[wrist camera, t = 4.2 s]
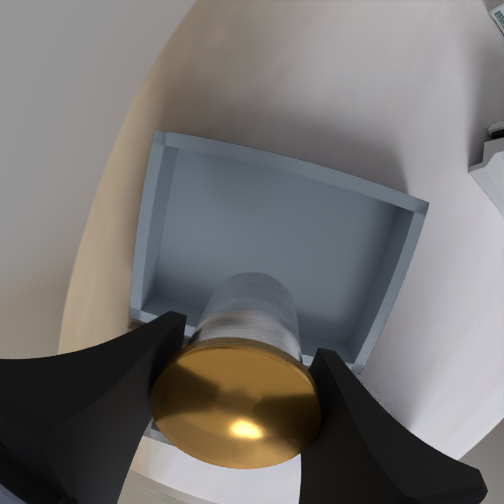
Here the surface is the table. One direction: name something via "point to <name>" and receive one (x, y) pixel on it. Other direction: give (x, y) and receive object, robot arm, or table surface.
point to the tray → (272, 239)
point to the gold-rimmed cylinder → (240, 380)
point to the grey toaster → (492, 167)
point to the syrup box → (498, 16)
